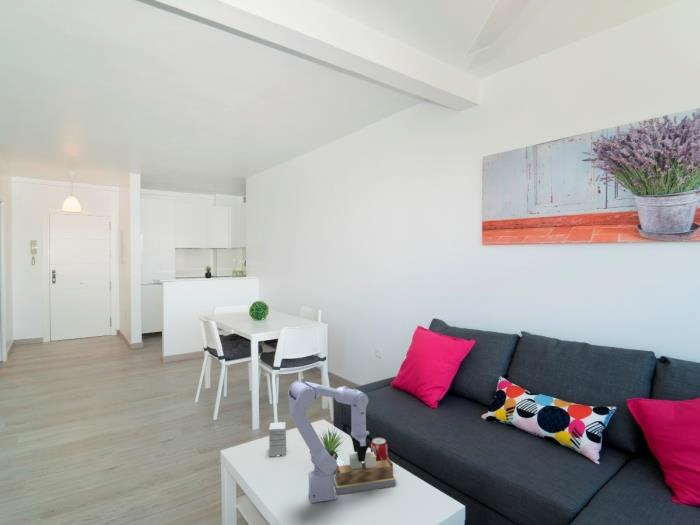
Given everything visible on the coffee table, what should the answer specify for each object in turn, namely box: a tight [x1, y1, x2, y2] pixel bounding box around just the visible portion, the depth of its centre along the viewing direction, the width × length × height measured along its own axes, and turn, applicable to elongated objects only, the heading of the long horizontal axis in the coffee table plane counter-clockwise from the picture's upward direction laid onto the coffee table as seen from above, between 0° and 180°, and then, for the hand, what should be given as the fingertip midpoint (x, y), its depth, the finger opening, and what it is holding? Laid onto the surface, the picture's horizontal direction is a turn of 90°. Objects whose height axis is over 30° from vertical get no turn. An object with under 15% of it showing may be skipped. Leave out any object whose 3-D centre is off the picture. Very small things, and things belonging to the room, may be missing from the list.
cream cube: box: [363, 451, 376, 468], centre depth 149 cm, size 4×4×4 cm
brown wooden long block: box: [334, 457, 394, 485], centre depth 148 cm, size 22×5×5 cm, turn 102°
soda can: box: [370, 437, 389, 461], centre depth 159 cm, size 7×7×12 cm
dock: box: [334, 475, 396, 496], centre depth 148 cm, size 23×8×3 cm, turn 102°
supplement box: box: [268, 421, 287, 457], centre depth 175 cm, size 7×7×13 cm
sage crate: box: [349, 452, 363, 469], centre depth 148 cm, size 4×4×4 cm
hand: (359, 456), depth 150 cm, fingers open, 7 cm apart
